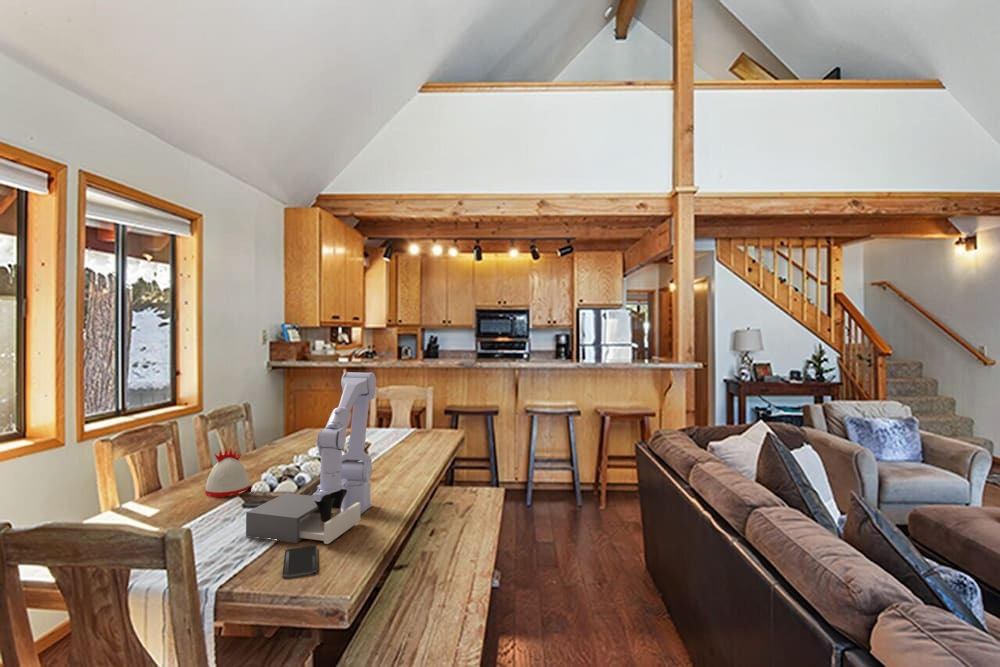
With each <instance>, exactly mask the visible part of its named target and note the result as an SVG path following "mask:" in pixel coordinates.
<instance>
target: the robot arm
mask: <svg viewBox="0 0 1000 667" xmlns="http://www.w3.org/2000/svg"><path fill="white" fill-rule="evenodd" d="M340 383H341V390H342V394H341V398H340V400H339V404H338V406H337V407H336V408H334V409H333V410H332V411H331V413H330V416H329V417H328V418H329V419H328V421H327V423H326V425H325V428H324V427H323V429H321V430H319V432H318V435H317V440H316V444H317V445H316V446H317V448H318V455H319V456H320V478H319V481H320V483H319V484H318V485H316V489H317V490H316V491H315V492H314V493H312V496H313V501H314V502H315V503H316V505H317V506H318V509H319V512H320V515H321V519H322V522H327V521H329V520H330V518H331V510H332V507H333V508H341V512H343V511H344V510H346V509H347V508H349V507H350V506H352V505H353V504H355V503H357V502H359V503H360V515H361V514H363V513H364V512H365V511H368V510H369V509H370V508H372V507H373V505H374V503H371V494H372V492H371V488H372V487H371V484H370V482H369V480H371V477H372V472H373V471H372V470H373V466H372V463H373V462H372V457H371V456H370V455H369V454H368V453H367V452H365V444H366V433H367V426H368V418H369V417H368V415H369V406H370V402H371V400H373V399H375V395H376V390H377V389H376V388H377V377H376V374H375V373H374V372H355V371H354V372H351V371H350V372H349V371H344V373H343V374H342V376H341V382H340ZM351 410H352V413H351ZM350 422H351V424H350ZM349 424H350V434H349V440H348V449H347V451H346V452H345V453H344V454H343V448H344V447H345V445H346V441H347V440H346V439H347V434H348V432H347V430H348V426H349Z"/></svg>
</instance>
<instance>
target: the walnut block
mask: <svg viewBox="0 0 1000 667" xmlns="http://www.w3.org/2000/svg"><path fill="white" fill-rule="evenodd" d="M341 508H342V507H341ZM341 508H333V507H332V510H331V518H330V519H332V518H333V517H335V516H336V515H338V514H339V513H341ZM324 523H326V522H322V519H321V515H320V526H324Z"/></svg>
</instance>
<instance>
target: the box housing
mask: <svg viewBox="0 0 1000 667" xmlns="http://www.w3.org/2000/svg"><path fill="white" fill-rule="evenodd" d="M312 512H317V513H320V512H319V509H318V506H317V505H316V503H315V502H314V501H313V495H309V494H298V493H288V492H285V493H283V494H281V495H279V496H277V497H275V498H272V499H271V500H268V501H267V502H264V503H262V504H260V505H258V506H256V507H254V508H252V509H250V510H248V511H246V512H245V514H246V516H245V537H246V536H250V537H249V538H254V537H259V538H258V539H261V538H271V539H277V540H280V541H279V542H284V541H285V543H291V542H293V543H292V544H298V543H299V542H301V541H303V540H304V539H305V538H299V534H300V519H301V518H303V517H305V516H307V515H308V514H310V513H312ZM297 542H298V543H297Z"/></svg>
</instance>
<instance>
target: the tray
mask: <svg viewBox="0 0 1000 667" xmlns="http://www.w3.org/2000/svg"><path fill="white" fill-rule="evenodd" d="M360 521H361V514H360V503H359V502H357V503H355V504H353V505H352V506H350V507H349V508H347V509H346V510H344V511H343V512H341V513H339V514H338V515H336V516H335V517H333V518H332V519H330V520H329V521H327V522H326V523H324V526H320V513H317V512H312V513H310V514H308V515H307V516H305V517H303V518H301V519H300V534H299V538H304V539H308V540H315V541H323V544H324V545H325V544H326V545H329V544H331V542H333V541H335V540H336V539H337V538H338V537H340V536H341V535H342V534H344V533H345V532H347V531H348V530H349V529H351V528H352V527H354V526H355V525H356V524H357V523H359V522H360Z"/></svg>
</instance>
